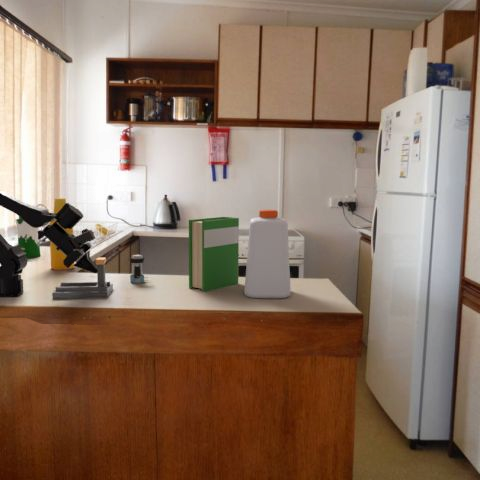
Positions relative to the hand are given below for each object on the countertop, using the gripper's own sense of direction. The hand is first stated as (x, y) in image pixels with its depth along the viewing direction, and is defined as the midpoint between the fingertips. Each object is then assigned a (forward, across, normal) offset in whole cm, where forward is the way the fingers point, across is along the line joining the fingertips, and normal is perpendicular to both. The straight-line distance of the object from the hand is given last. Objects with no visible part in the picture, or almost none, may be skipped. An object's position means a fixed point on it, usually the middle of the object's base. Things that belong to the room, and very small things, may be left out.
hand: (97, 272), depth 166 cm
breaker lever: (+4, 0, +3) cm, 5 cm away
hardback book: (+33, +9, -22) cm, 41 cm away
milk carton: (-26, +77, +36) cm, 89 cm away
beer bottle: (-10, +47, +21) cm, 52 cm away
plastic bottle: (+45, -4, -34) cm, 57 cm away
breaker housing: (+2, 0, +8) cm, 9 cm away
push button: (+14, +17, -3) cm, 22 cm away
